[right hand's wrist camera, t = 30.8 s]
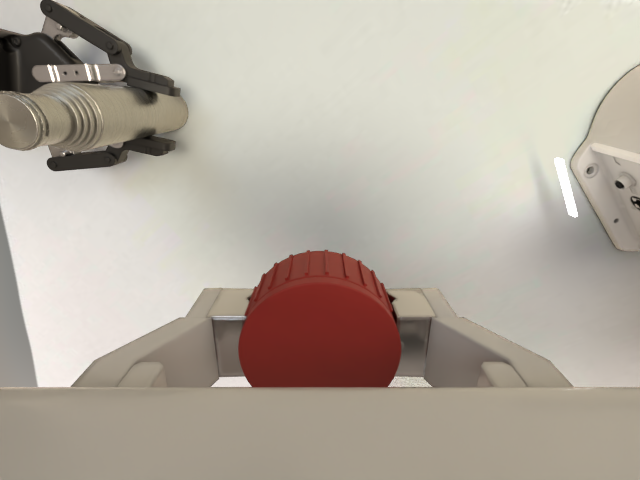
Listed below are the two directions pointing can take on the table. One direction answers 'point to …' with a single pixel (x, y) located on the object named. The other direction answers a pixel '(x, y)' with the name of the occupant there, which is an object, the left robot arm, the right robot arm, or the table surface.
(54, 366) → the table surface
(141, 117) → the bottle
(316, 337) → the cap
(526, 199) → the table surface
